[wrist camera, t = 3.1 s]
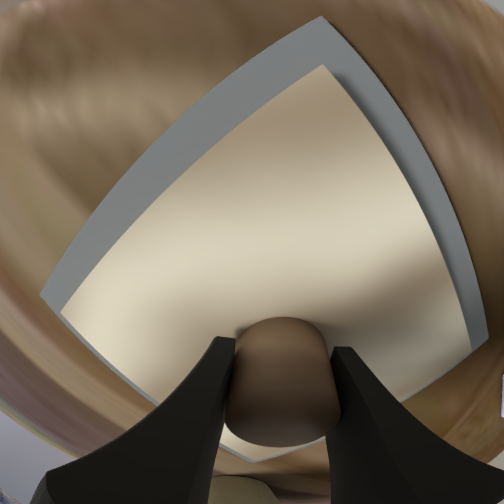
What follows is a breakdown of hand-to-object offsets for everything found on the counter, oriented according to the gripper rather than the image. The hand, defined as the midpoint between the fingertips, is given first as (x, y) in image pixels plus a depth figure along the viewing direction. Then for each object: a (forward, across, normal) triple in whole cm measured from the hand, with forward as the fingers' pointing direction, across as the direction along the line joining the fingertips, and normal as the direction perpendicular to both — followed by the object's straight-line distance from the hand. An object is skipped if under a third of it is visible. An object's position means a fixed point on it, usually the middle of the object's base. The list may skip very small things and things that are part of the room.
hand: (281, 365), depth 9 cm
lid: (+1, 0, 0) cm, 1 cm away
